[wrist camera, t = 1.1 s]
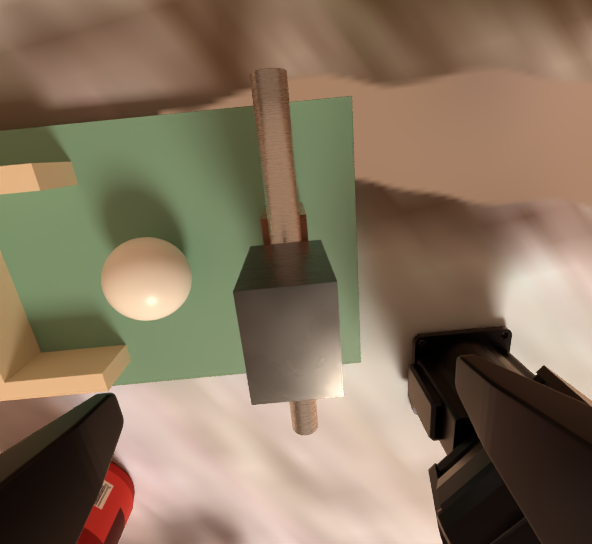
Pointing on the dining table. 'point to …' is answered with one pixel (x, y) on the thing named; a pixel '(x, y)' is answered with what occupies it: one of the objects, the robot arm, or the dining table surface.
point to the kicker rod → (286, 279)
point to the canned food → (109, 509)
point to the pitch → (159, 224)
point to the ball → (146, 278)
